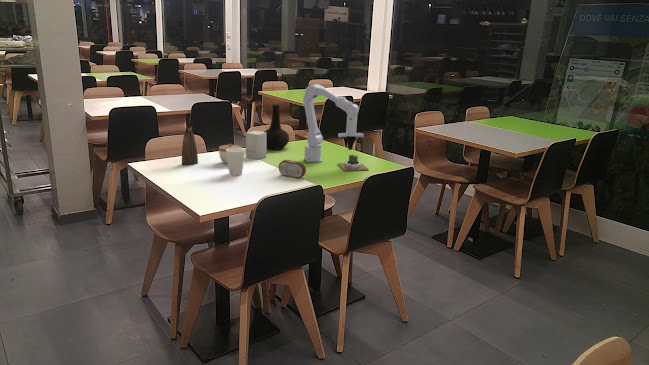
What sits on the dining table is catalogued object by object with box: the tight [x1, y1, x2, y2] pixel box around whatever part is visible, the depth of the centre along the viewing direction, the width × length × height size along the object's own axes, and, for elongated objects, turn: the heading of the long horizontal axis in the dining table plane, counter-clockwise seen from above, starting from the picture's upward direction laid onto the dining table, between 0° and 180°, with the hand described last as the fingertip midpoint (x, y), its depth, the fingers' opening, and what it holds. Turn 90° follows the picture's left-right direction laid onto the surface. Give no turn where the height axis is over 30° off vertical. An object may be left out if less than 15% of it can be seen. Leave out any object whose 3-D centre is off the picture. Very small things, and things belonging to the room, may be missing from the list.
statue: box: [181, 119, 199, 166], centre depth 263 cm, size 9×8×25 cm
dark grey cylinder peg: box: [348, 154, 359, 164], centre depth 272 cm, size 5×5×6 cm
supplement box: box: [245, 130, 267, 160], centre depth 285 cm, size 9×9×15 cm
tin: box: [278, 159, 307, 179], centre depth 249 cm, size 15×3×8 cm, turn 65°
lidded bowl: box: [218, 143, 243, 165], centre depth 270 cm, size 13×13×11 cm
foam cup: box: [226, 147, 246, 177], centre depth 249 cm, size 10×9×13 cm
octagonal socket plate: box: [337, 159, 370, 172], centre depth 273 cm, size 14×14×3 cm
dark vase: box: [263, 104, 290, 150], centre depth 308 cm, size 18×18×28 cm
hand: (350, 149), depth 275 cm, fingers closed
